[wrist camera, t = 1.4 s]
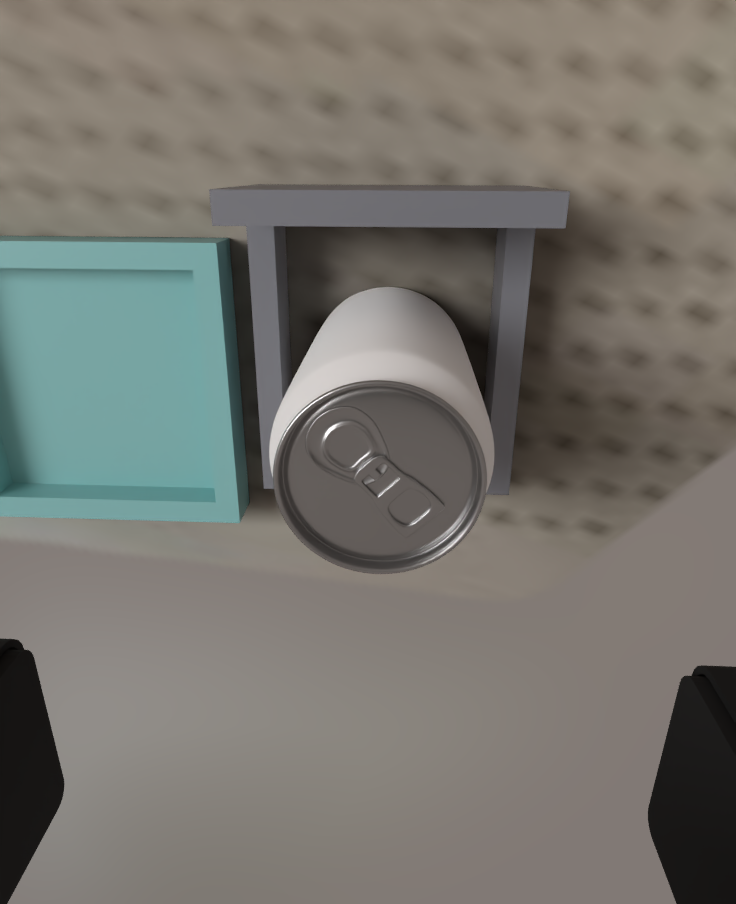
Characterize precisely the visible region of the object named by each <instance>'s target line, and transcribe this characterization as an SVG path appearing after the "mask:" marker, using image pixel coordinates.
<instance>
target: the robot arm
mask: <svg viewBox="0 0 736 904" xmlns="http://www.w3.org/2000/svg"><path fill="white" fill-rule="evenodd" d="M63 792H64V778H63V774H62V770H61V766H60V762H59V758H58V754H57V750H56V746H55V742H54V738H53V733H52V730H51V725H50V721H49V717H48V713H47V709H46V705H45V701H44V697H43V693H42V689H41V684H40V681H39V676H38V672H37V668H36V664H35V660H34V657H33V654H32V653H31V652H30V651H29V650H24V648H23V645H22V644H21V643H20V642H19V641H18V640H15V639H0V904H7V903H8V901H9V899H10V897H11V896H12V894H13V892H14V890H15V888H16V886H17V884H18V882H19V881H20V879H21V877H22V875H23V873H24V871H25V870H26V868H27V866H28V864H29V862H30V860H31V858H32V856H33V855H34V853H35V851H36V849H37V847H38V845H39V844H40V842H41V840H42V838H43V836H44V834H45V832H46V830H47V829H48V827H49V825H50V823H51V821H52V819H53V817H54V816H55V814H56V812H57V810H58V808H59V806H60V804H61V800H62V797H63ZM648 822H649V828H650V832H651V836H652V839H653V842H654V845H655V847H656V850H657V853H658V855H659V858H660V861H661V863H662V866H663V869H664V871H665V874H666V877H667V879H668V882H669V885H670V887H671V890H672V893H673V895H674V898H675V901H676V903H677V904H736V667H725V666H697V667H696V668H695V669H694V671H693V674H692V676H684V677H683V678H682V679H681V682H680V685H679V689H678V693H677V697H676V701H675V705H674V709H673V713H672V716H671V720H670V725H669V728H668V732H667V736H666V740H665V744H664V748H663V753H662V756H661V760H660V764H659V768H658V772H657V776H656V780H655V784H654V788H653V792H652V796H651V800H650V804H649V808H648Z"/></svg>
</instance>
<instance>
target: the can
mask: <svg viewBox="0 0 736 904" xmlns="http://www.w3.org/2000/svg"><path fill="white" fill-rule="evenodd" d="M269 458H270V467H271V472H272V477H273V486H274V492H275V497H276V500H277V504H278V507H279V509H280V512H281V514H282V516H283V518H284V520H285V521H286V523H287V525H288V526H289V528H290V529H291V530H292V532H293V533H294V534H295V535H296V537H297V538H298V539H299V540H300V541H301V542H302V543H303V544H304V545H305V546H307V547H308V548H309V549H310V550H311V551H313V552H314V553H316V554H317V555H319V556H320V557H322V558H323V559H325V560H327V561H329V562H331V563H333V564H335V565H338V566H340V567H343V568H346V569H350V570H353V571H358V572H363V573H371V574H392V573H400V572H406V571H410V570H414V569H417V568H420V567H423V566H425V565H428V564H430V563H432V562H434V561H436V560H438V559H439V558H441V557H443V556H444V555H446V554H447V553H448V552H450V551H451V550H452V549H454V548H455V547H456V546H457V545H458V544H459V543H460V542H461V541H462V540H463V539H464V538H465V537H466V535H467V534H468V533H469V532H470V530H471V529H472V527H473V526H474V524H475V522H476V520H477V518H478V516H479V514H480V512H481V509H482V506H483V503H484V499H485V495H486V492H487V490H488V487H489V485H490V481H491V478H492V473H493V467H494V440H493V433H492V429H491V425H490V421H489V417H488V414H487V411H486V408H485V404H484V401H483V398H482V395H481V392H480V390H479V387H478V384H477V381H476V378H475V375H474V372H473V369H472V366H471V364H470V361H469V358H468V355H467V352H466V350H465V347H464V344H463V341H462V339H461V336H460V334H459V332H458V330H457V328H456V326H455V324H454V323H453V321H452V320H451V318H450V317H449V316H448V315H447V313H446V312H445V311H444V310H443V309H442V308H441V307H440V306H439V305H437V304H436V303H435V302H434V301H432V300H431V299H429V298H427V297H426V296H424V295H422V294H420V293H417V292H414V291H411V290H408V289H403V288H397V287H380V288H374V289H369V290H366V291H362V292H359V293H357V294H354V295H352V296H350V297H349V298H347V299H346V300H344V301H343V302H342V303H341V304H339V305H338V306H337V307H336V308H335V309H334V310H333V311H332V313H331V314H330V315H329V316H328V318H327V319H326V321H325V322H324V324H323V325H322V327H321V328H320V330H319V332H318V334H317V335H316V337H315V339H314V341H313V343H312V344H311V346H310V348H309V350H308V352H307V354H306V356H305V357H304V359H303V361H302V363H301V365H300V367H299V369H298V371H297V373H296V375H295V376H294V378H293V380H292V382H291V384H290V386H289V388H288V390H287V392H286V394H285V396H284V398H283V400H282V402H281V404H280V407H279V409H278V411H277V414H276V417H275V420H274V423H273V427H272V431H271V437H270V445H269Z"/></svg>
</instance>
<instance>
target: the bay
mask: <svg viewBox="0 0 736 904" xmlns="http://www.w3.org/2000/svg"><path fill="white" fill-rule="evenodd" d="M209 191H210V203H211V215H212V226H246V227H247V243H248V258H249V273H250V288H251V303H252V318H253V333H254V348H255V363H256V378H257V393H258V409H259V424H260V439H261V454H262V469H263V484H264V489H274V486H273V477H272V472H271V467H270V458H269V445H270V437H271V431H272V427H273V423H274V420H275V417H276V414H277V411H278V409H279V407H280V404H281V402H282V400H283V398H284V396H285V394H286V392H287V390H288V388H289V386H290V384H291V382H292V367H291V344H290V321H289V298H288V276H287V253H286V230H285V226H325V227H450V228H497V241H496V254H495V266H494V279H493V292H492V305H491V317H490V330H489V343H488V356H487V368H486V381H485V394H484V404H485V408H486V411H487V414H488V417H489V421H490V425H491V429H492V433H493V440H494V467H493V473H492V478H491V481H490V485H489V487H488V490H487V492H486V494H493V495H509V488H510V478H511V468H512V458H513V448H514V438H515V428H516V418H517V408H518V398H519V388H520V378H521V368H522V358H523V348H524V338H525V328H526V318H527V308H528V298H529V288H530V278H531V268H532V258H533V248H534V238H535V229H536V228H566V220H567V212H568V203H569V195H570V191H562V190H555V189H547V188H539V187H532V186H451V185H262V184H258V185H248V186H238V187H228V188H219V189H209Z"/></svg>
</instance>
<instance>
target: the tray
mask: <svg viewBox="0 0 736 904" xmlns="http://www.w3.org/2000/svg"><path fill="white" fill-rule="evenodd" d="M248 504H249V490H248V476H247V463H246V450H245V437H244V424H243V411H242V398H241V385H240V372H239V359H238V346H237V333H236V320H235V307H234V294H233V281H232V268H231V255H230V242H229V238H184V237H71V236H0V516H12V517H47V518H83V519H119V520H155V521H190V522H226V523H240V521H241V519H242V517H243V515H244V513H245V511H246V508H247V506H248Z"/></svg>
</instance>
